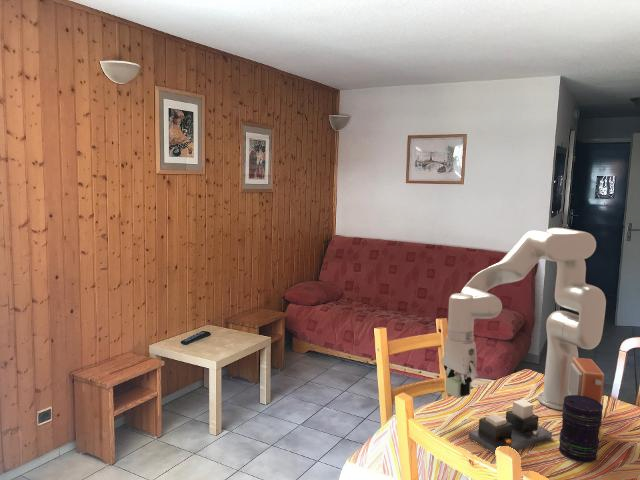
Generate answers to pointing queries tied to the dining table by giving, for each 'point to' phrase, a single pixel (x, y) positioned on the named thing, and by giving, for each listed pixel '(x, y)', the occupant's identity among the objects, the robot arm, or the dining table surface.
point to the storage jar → (580, 428)
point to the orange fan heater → (586, 379)
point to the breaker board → (510, 433)
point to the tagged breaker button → (495, 420)
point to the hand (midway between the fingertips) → (457, 390)
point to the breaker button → (522, 409)
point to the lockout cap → (454, 386)
